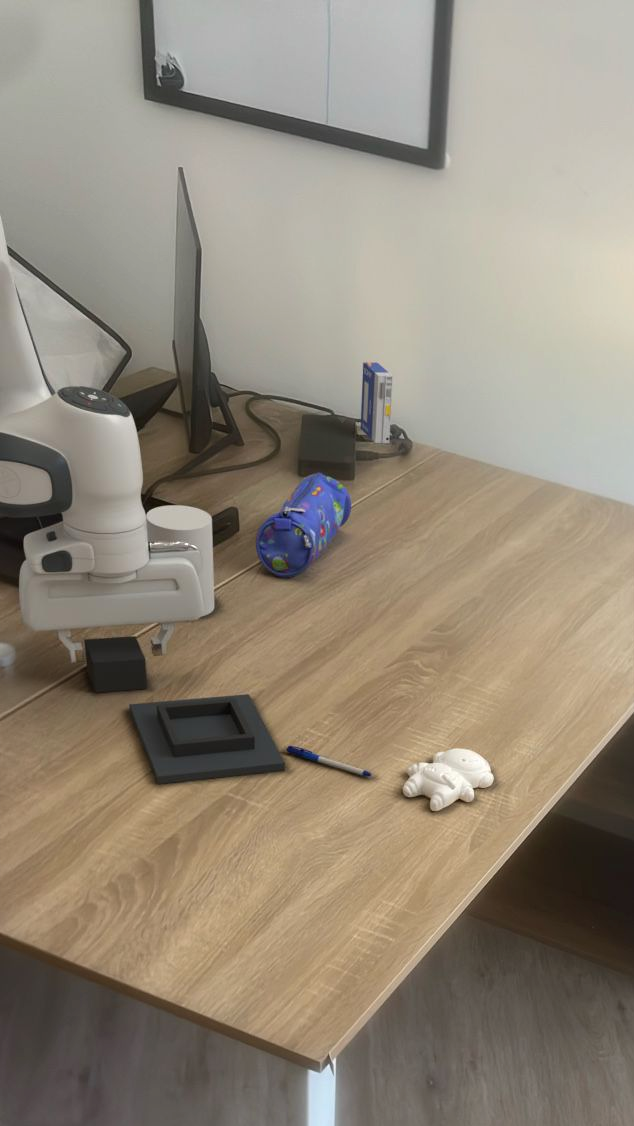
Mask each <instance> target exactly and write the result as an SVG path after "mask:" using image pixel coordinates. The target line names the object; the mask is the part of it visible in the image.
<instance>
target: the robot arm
mask: <svg viewBox="0 0 634 1126" xmlns="http://www.w3.org/2000/svg"><path fill="white" fill-rule="evenodd" d="M41 361H42V360H41V358H40V355H39V352H38V348H37V346H36V343H35V340H34V337H33V333H32V330H31V327H30V324H29V321H28V317H27V315H26V311H25V309H24V305H23V302H22V300H21V297H20V293H19V291H18V288H17V285H16V281H15V278H14V273H13V269H12V265H11V260H10V256H9V251H8V246H7V240H6V235H5V230H4V225H3V220H2V216H1V214H0V516H2V517H6V518H12V519H13V518H15V519H18V518H19V519H22V518H35V517H36V518H37V517H46V516H54V515H59V514H61V515H62V521H60V522H57V523H54V524H52V525H49V526H46V527H44V528H40V529H37V530H35V531H32V532H30V533H27V534H26V535H25V536H24V538H23V552H24V557H25V559H24V561H23V562H22V564H21V566H20V570H19V577H18V578H19V579H18V598H19V609H20V615H21V620H22V622H23V624H24V626H25V627H26V628H27V629H28V630H30V631H31V632H50V631H56V634H57V637H58V639H59V640H60V641H61V642H62V644H63V645H64V646H65V647H66V649H67V650H68V655H69V660H70V663H71V664H75V663H76V664H77V663H84V662H85V657H84V656H85V655H84V654H85V651H84V648H83V645H82V643H81V642H74V641H73V640H72V638H71V637H72V632H71V631H72V630H79V629H91V628H93V629H94V628H105V627H120V626H122V627H123V626H134V625H151V624H159V625H160V627H161V628H160V630H159V631H158V634H157V636H151V637H150V644H151V645H150V648H151V653H152V655H153V657H161V656H167V643H168V641H169V640H170V638H171V637H172V635H173V633H174V632H175V622H176V623H178V622H189V621H190V622H191V621H193V622H194V621H198V620H199V619H200V618H201V617H200V616H201V615H202V614H203V612H204V607H203V599H202V593H201V588H200V583H199V579H198V576H199V574H200V573H201V571H202V555H201V552H200V550H199V549H198V548H197V547H196V546H194V545H192V544H188V542H187V541H184V540H178V541H175V542H166V541H165V542H164V541H155V542H154V541H153V542H148V535H147V519H146V515H147V513H146V511H145V509H144V508H145V507H144V506H143V503H142V488H143V484H144V474H143V472H144V471H143V463H142V454H141V447H140V440H139V435H138V430H137V427H136V422H135V419H134V417H133V414H132V411H130V409H129V408H128V406H127V405H126V404H125V402H123V401H122V400H121V399H119V398H117V397H116V396H115V395H113V394H112V393H109V392H107V391H105V390H101V389H99V388H95V387H90V386H82V385H80V386H76V385H75V386H74V385H72V386H71V385H70V386H63V387H61V388H59V389H58V390H57V391H55V389H54V388H53V386H52V385H51V383H50V381H49V379H48V377H47V375H46V373H45V370H44V368H43V365H42V362H41ZM189 547H190V548H193V549H188V548H189Z"/></svg>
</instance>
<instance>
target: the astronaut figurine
mask: <svg viewBox="0 0 634 1126" xmlns="http://www.w3.org/2000/svg"><path fill="white" fill-rule="evenodd" d="M406 773H407V775H408V779H407V780H406V781H405V783H404V785H403V786H402V792H403V795H404V796H405V797H406V798H414V797H415V798H416V797H419V796H425V797H427V798H429V799H430V803H429V808H430V810H431V811H432V812H438V811H441V810H442V809H445V808H447V807H448V806H450V805H452V804H453V803H455V802H456V801H457V800H461V801H462V802H463V801H464V802H465V803H471V802H472V801H473V800H474V798H475V790H474V789H476V788H481V789H486V788H489V787H491V786H492V785H493V782H494V779H495V778H494V774H493V773H492V770H491V766H490V763H489V762H488V761H487V760H486V759H485V758H484V757H482V756H481V755H480V754H478V753H477V752H475V751H473V750H471V749H468V748H459V747H458V748H455V747H454V748H451V749H449V750H446V751H439V752H436V753H435V754H434V755H433V758H432V762H430V763H428V762H424V761H423V762H422V761H421V762H418V764H417V763H414V764H412V765H411V766H409V767H408V768H407V769H406Z"/></svg>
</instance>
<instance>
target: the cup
mask: <svg viewBox="0 0 634 1126" xmlns="http://www.w3.org/2000/svg"><path fill="white" fill-rule="evenodd" d="M146 522H147V535H148V542H153V541H154V542H155V541H164V542H165V541H166V542H175V541H178V540H184V541H187V542H188V544H192V545H194V546H196V547H197V548H198V549H199V550H200V552H201V555H202V571H201V573H200V574H199V576H198V579H199V583H200V588H201V593H202V599H203V607H204V612H203V614H202V615H201V616H200V618H201V617H205V616H208V615H209V614H211V613H213V611H214V610H215V579H214V578H215V576H214V547H213V546H214V543H213V517H212V515H211V514H210V513H208V512H207V511H205V510H203V509H201V508H198V507H193V506H188V505H179V504H178V505H177V504H171V505H170V504H169V505H161V506H157V507H154V508H152V509H150V510H148V512H147V513H146ZM188 549H193V548H190V547H189V548H188Z"/></svg>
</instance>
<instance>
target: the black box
mask: <svg viewBox="0 0 634 1126" xmlns="http://www.w3.org/2000/svg"><path fill="white" fill-rule="evenodd" d="M83 643H84V654H85V664H86V670H87V674H88V676H89V679H90V681H91V684H92V687H93V689H94V693H95V694H100V693H112V692H123V691H124V692H125V691H136V690H139V691H140V690H147V689H148V678H147V663H146V662H147V661H146V657H145V655H144V653H143V651H142V647H141V646H140V643H139V641H138V639H137V636H135V635H132V636H131V635H130V636H117V637H114V636H113V637H102V638H100V637H99V638H88V639H86V638H85V639H84V640H83Z"/></svg>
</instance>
